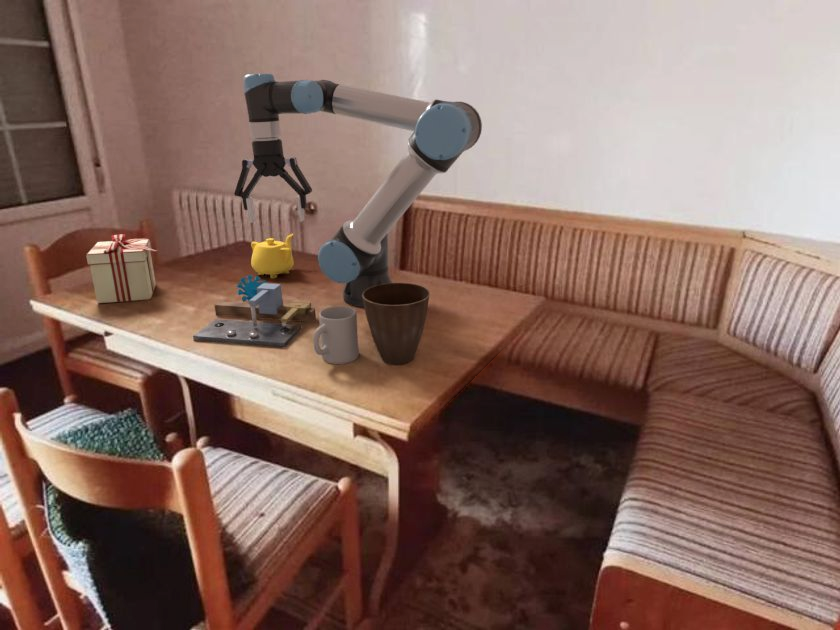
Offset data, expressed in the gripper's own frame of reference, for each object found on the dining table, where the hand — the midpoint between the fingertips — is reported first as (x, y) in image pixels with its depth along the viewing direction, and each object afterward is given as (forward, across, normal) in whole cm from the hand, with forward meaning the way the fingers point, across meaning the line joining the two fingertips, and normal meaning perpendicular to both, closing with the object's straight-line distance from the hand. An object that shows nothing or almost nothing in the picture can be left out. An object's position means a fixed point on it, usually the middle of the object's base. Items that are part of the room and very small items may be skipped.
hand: (277, 221), depth 156 cm
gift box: (+23, +50, -10) cm, 56 cm away
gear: (+24, +10, -3) cm, 27 cm away
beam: (+24, +4, +8) cm, 26 cm away
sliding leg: (+23, +3, +12) cm, 26 cm away
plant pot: (+26, -34, +31) cm, 53 cm away
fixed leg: (+23, -5, +13) cm, 27 cm away
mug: (+26, -20, +32) cm, 46 cm away
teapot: (+24, +12, -32) cm, 41 cm away
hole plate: (+24, +5, +20) cm, 32 cm away
